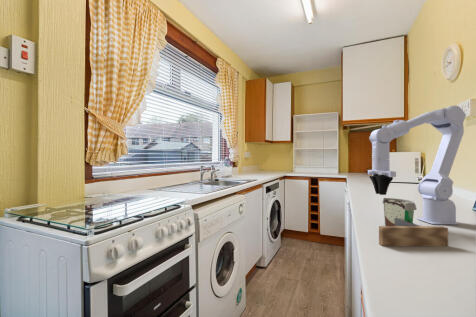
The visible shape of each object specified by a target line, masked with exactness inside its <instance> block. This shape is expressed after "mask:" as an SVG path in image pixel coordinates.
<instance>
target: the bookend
mask: <svg viewBox="0 0 476 317" xmlns="http://www.w3.org/2000/svg"><path fill="white" fill-rule="evenodd" d="M395 226H420V225H418V224H416V223H411V222H408V221H405V220H402V219H400V218H395Z"/></svg>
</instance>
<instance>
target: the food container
mask: <svg viewBox="0 0 476 317" xmlns="http://www.w3.org/2000/svg"><path fill="white" fill-rule="evenodd" d="M382 204H383V214H384V217H383V218H384V226H395V218H400V219H402V220H405V221H408V222H411V223H413V222H414V216H415V215H414V213H415V211H416V210H417V205H416V203H415V202H414V201H413V200H408V199H402V198H394V197H388V198H387V197H383V200H382Z"/></svg>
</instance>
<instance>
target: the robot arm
mask: <svg viewBox="0 0 476 317" xmlns="http://www.w3.org/2000/svg"><path fill="white" fill-rule="evenodd" d="M466 117H467V114H466V113H465V111H464V109H462V108H461V106H459V105H451V106H448V107H444V108H443V107H442V108H438V109H435V110H431V111H428V112H424V113H422V114H419V115H417V116H416V117H415V116H414V117H413V118H410V119H408V120H403V119H396V120H393V123H389V124H388V125H387V124H384V125H382V126H381V128H379V129H374V130H372V132H370V136H369V137H368V139H369V141H370V143H371V147H372V148H371V154H372V155H371V156H372V162H371V163H372V164H371V166H372V168H371V169H367V175H368V176H369V175H370V176H369V179H370V181H371V182H372V185H373V188H374V191H375V194H376V195H380V196H386V195H387V192H388V189H389V187H390V184H391V183H392V181H393V180H394V178H396V177H397V171H393V170H390V166H391V165H390V162H391V161H390V143H391V141H393V140H394V139H396V138H400V137H401V136H404V135H407V134H409V132H410V130H411V129H413V128H416V127H418V126H421V125H424V124H426V125H428V124H429V125H431V126H432V127H433V128H434V129H435V130H437V131H438V132H439V133H441V134H442V137H441V141H440V143H439V146H438V148H437V151H436V155H435V157H434V161H433V164H432V166H431V168H430V171H429V172H428V173H427V174H426V175H424V176H423V178H422V180H421V181H420V182H419V183H418V185H417V191H418V193H419V194H420V195H421V198H422V217H416V220H419V221H422V222H425V223H428V224H430V225H459V223H458V222H457V221H456V220H457V207H456V204H455V202H454V201H453V200H451V199H449V198H451V197H452V195H453V193H454V189H453V185H454V180H452V179H451V178H450V174H451V170H452V167H453V164H454V161H455V160H456V156H457V154H458V151H459V147H460V145H461V142H462V139H463V136H464V132H465V130H464V122H465V119H466Z"/></svg>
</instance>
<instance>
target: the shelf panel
mask: <svg viewBox="0 0 476 317" xmlns="http://www.w3.org/2000/svg"><path fill="white" fill-rule="evenodd" d="M378 244H379V245H380V246H381V247H449V228H448V227H446V226H442V225H441V226H439V225H438V226H436V225H435V226H433V225H432V226H431V225H430V226H428V225H427V226H422V225H419V226H385V225H383V226H382V225H380V226H379V225H378Z"/></svg>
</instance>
